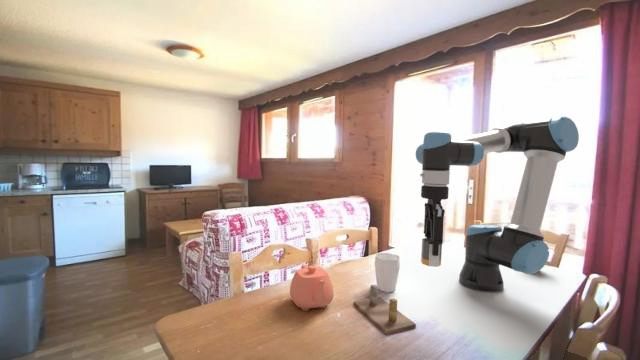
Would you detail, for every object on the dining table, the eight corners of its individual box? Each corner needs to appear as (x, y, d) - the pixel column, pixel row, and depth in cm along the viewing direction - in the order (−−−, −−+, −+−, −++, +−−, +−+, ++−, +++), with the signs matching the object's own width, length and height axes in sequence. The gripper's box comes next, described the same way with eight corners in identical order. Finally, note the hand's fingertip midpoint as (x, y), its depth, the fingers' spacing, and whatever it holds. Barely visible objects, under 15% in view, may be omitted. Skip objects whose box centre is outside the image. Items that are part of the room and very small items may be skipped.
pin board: (353, 304, 96) (353, 283, 96) (379, 299, 100) (380, 279, 100) (386, 334, 80) (387, 309, 79) (415, 327, 83) (416, 303, 83)
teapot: (301, 324, 84) (302, 282, 83) (284, 294, 102) (284, 259, 102) (344, 316, 89) (345, 276, 88) (320, 289, 107) (321, 256, 106)
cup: (399, 295, 104) (401, 261, 103) (373, 292, 106) (374, 259, 105) (398, 284, 113) (399, 253, 112) (374, 282, 114) (375, 251, 114)
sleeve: (437, 261, 91) (438, 238, 91) (442, 267, 86) (443, 243, 86) (420, 259, 92) (421, 237, 91) (423, 265, 87) (424, 242, 86)
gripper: (416, 182, 97) (413, 252, 98) (428, 187, 79) (424, 272, 80) (440, 183, 96) (436, 253, 97) (458, 188, 78) (454, 274, 79)
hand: (431, 262), depth 89 cm, fingers closed on sleeve, 5 cm apart
